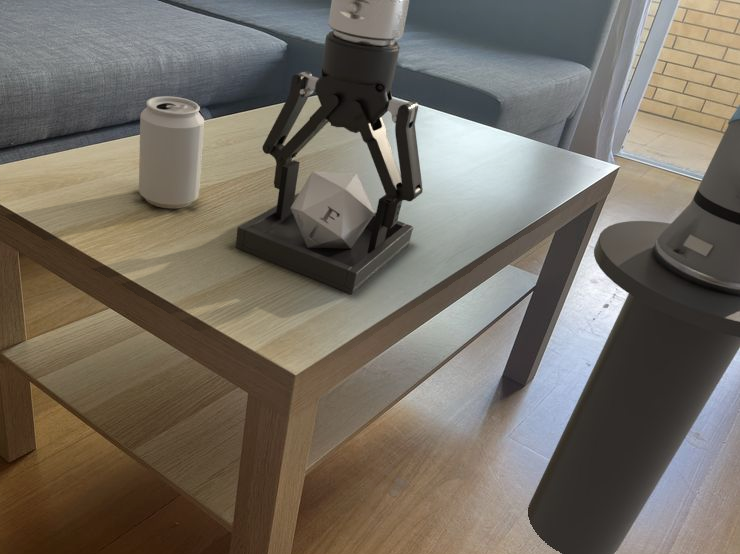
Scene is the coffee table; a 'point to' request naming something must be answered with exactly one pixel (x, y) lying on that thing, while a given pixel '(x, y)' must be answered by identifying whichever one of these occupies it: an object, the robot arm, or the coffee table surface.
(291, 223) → the dark grey shallow tray
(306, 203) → the die
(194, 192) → the can
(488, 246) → the coffee table surface
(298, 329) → the coffee table surface
